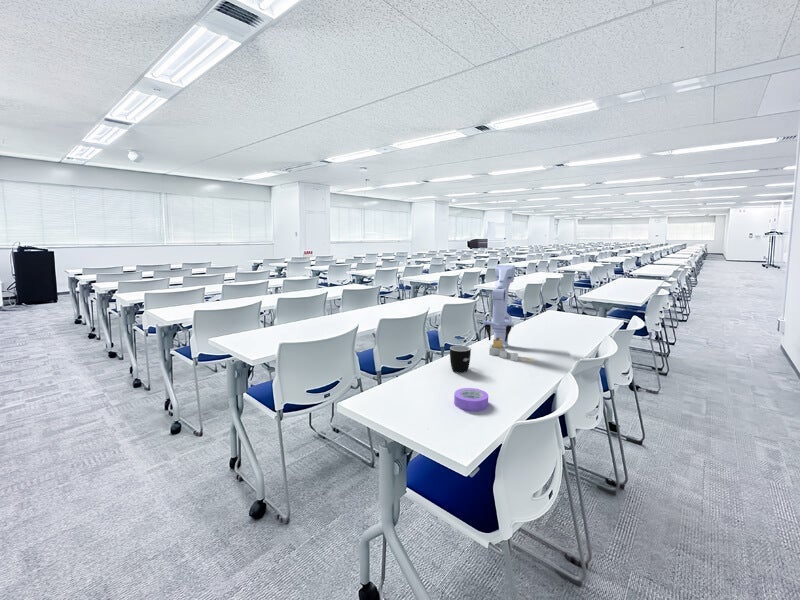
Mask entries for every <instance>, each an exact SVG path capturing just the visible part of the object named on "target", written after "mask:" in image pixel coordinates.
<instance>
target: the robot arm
mask: <svg viewBox="0 0 800 600" xmlns="http://www.w3.org/2000/svg"><path fill="white" fill-rule="evenodd" d="M494 269H495V270H494V271H495V272H494V274H495V275H494V276H495V280H496V282H495V285H494V289H492V292H491V299H492V300H491V301H492V303H491V304H492V317H491V320H482V326H483V327H484V329H485V330H486V334H487V336H488V341H491V339H492V337H491V335H492V334H491V329H492V330H493V339H494V338H495V339H496V337H499V338H500V339H502V345H505V348H508V347H509V346H510V345H509V335H510V332H511V331H512V328H515V322H512V315H510V314H509V313H508V301H509V289H510V285H511V284H512V283H514V280H515V275H516V266H515V265H512V264H511V265H509V264H508V265H507V264H506V265H505V264H500V265H499V264H496V265H495V268H494Z"/></svg>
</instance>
